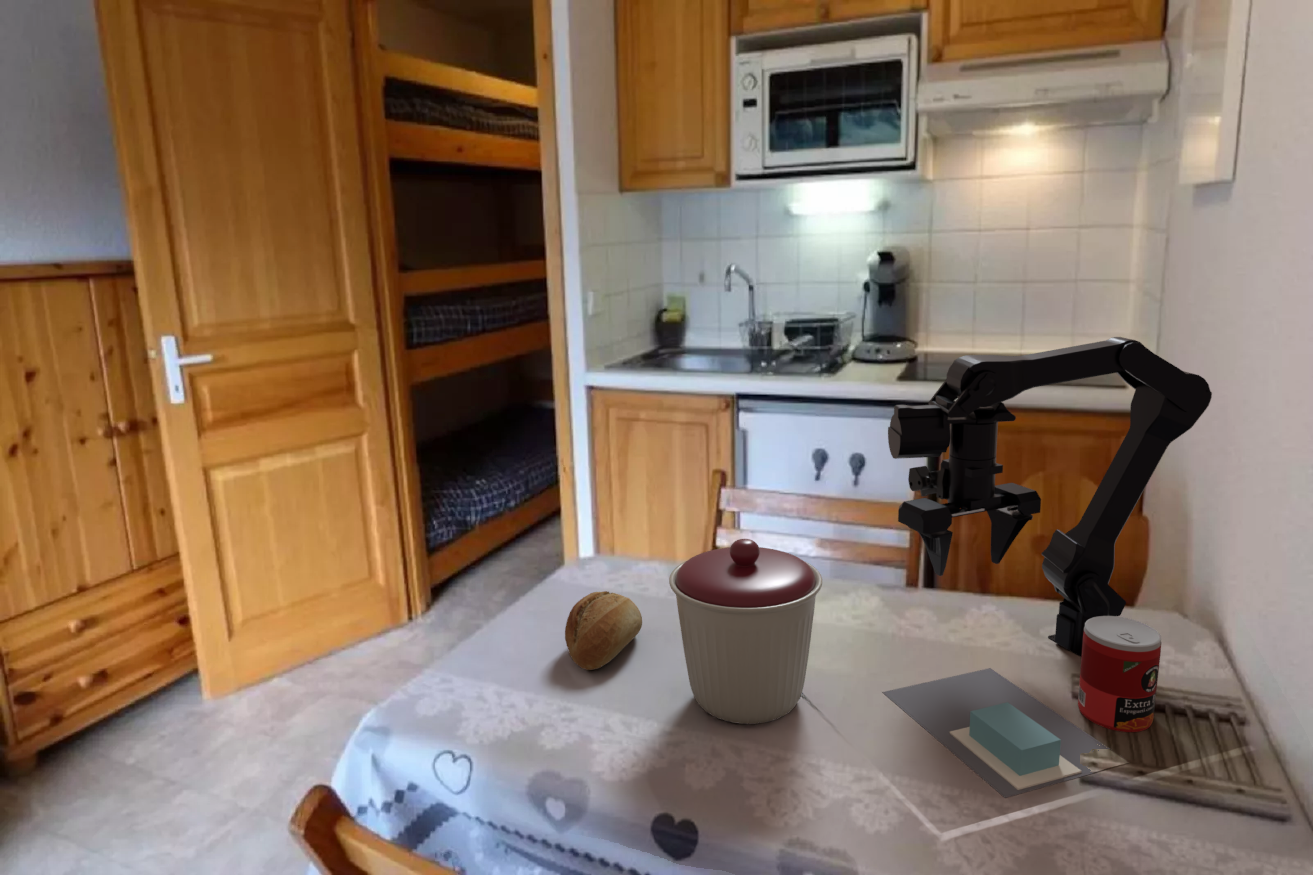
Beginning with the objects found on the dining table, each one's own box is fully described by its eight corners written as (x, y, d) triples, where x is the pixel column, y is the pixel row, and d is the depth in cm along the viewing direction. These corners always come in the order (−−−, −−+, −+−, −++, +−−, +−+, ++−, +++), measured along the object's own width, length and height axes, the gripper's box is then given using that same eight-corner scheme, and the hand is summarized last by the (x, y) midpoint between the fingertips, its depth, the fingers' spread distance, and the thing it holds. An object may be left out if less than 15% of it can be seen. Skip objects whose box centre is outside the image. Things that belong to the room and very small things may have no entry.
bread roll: (549, 672, 116) (545, 617, 114) (593, 624, 130) (590, 574, 128) (616, 681, 113) (613, 625, 111) (653, 632, 127) (651, 581, 125)
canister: (651, 727, 102) (644, 559, 97) (700, 657, 118) (696, 510, 113) (803, 756, 95) (804, 577, 90) (833, 678, 112) (835, 522, 107)
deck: (1058, 765, 91) (1060, 739, 90) (1019, 776, 89) (1021, 750, 89) (1006, 726, 98) (1007, 702, 98) (969, 735, 97) (970, 711, 96)
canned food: (1124, 744, 95) (1133, 652, 93) (1061, 710, 102) (1068, 624, 100) (1168, 724, 99) (1178, 635, 96) (1104, 693, 106) (1112, 609, 103)
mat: (989, 671, 112) (990, 666, 112) (1130, 766, 91) (1130, 760, 91) (882, 695, 107) (882, 690, 107) (1004, 802, 87) (1005, 795, 86)
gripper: (986, 434, 122) (981, 539, 125) (874, 450, 115) (872, 560, 119) (1047, 450, 112) (1040, 564, 115) (927, 470, 105) (924, 590, 109)
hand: (967, 568), depth 115 cm, fingers open, 9 cm apart
